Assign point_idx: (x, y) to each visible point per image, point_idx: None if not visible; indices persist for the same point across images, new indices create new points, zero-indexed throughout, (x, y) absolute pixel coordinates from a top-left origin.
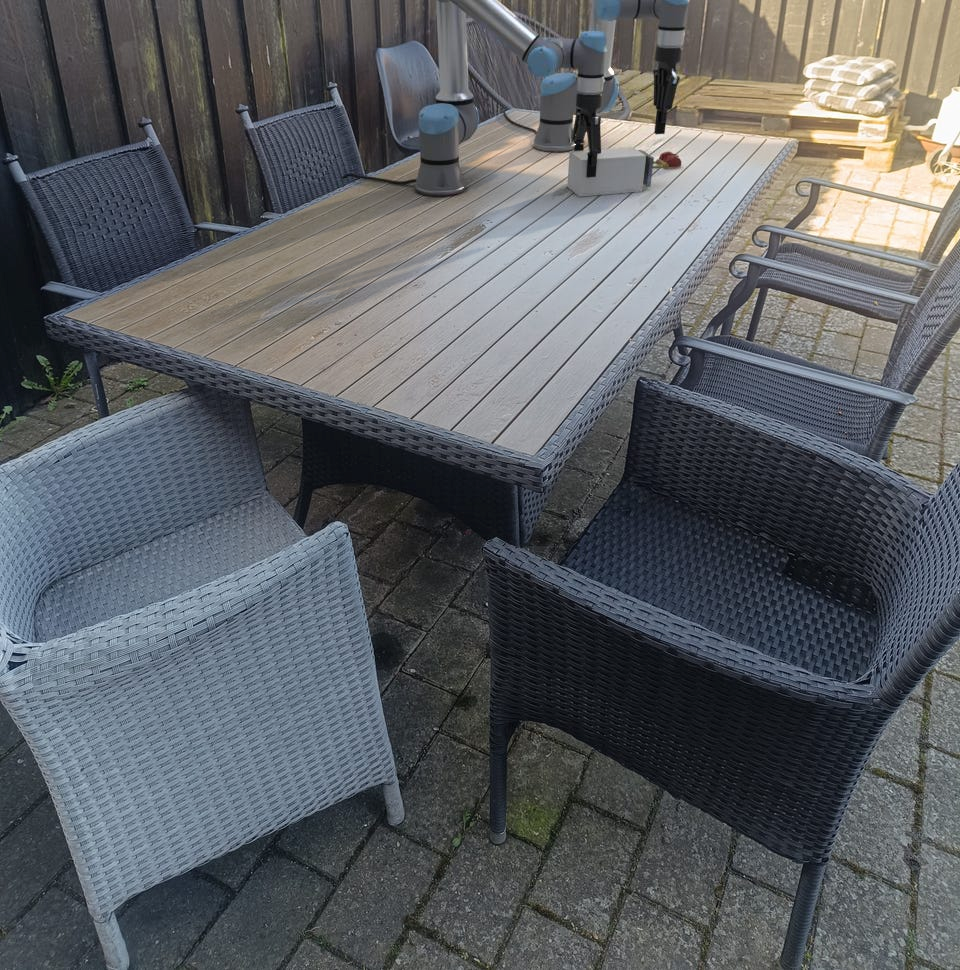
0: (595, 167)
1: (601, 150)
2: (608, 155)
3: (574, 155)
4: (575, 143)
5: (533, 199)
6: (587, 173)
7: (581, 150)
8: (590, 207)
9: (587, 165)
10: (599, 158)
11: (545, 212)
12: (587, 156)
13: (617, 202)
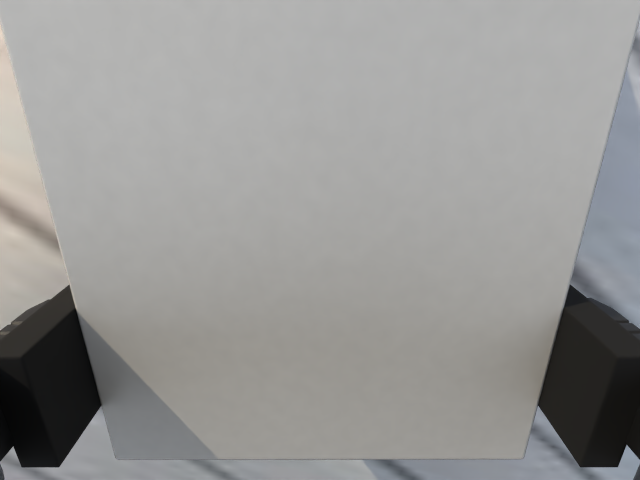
0: None
1: (107, 36)
2: (466, 45)
3: (286, 454)
4: (2, 470)
5: (382, 470)
6: None
7: (93, 337)
8: (622, 280)
9: None
10: (559, 256)
11: (574, 474)
12: (401, 362)
13: (630, 83)
